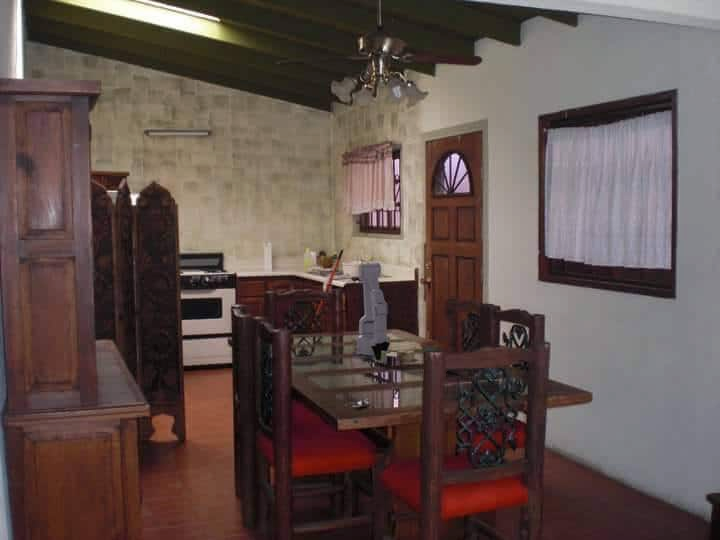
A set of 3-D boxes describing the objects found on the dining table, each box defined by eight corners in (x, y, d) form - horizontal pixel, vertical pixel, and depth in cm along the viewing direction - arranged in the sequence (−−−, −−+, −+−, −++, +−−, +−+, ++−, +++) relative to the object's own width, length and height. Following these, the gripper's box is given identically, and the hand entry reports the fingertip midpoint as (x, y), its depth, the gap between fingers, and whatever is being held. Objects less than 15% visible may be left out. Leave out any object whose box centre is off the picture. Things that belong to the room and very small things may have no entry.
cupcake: (436, 356, 369) (436, 331, 368) (418, 355, 371) (418, 330, 370) (438, 352, 378) (438, 328, 377) (421, 352, 379) (421, 327, 378)
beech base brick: (396, 360, 362) (396, 351, 361) (402, 358, 367) (402, 349, 367) (408, 361, 359) (408, 352, 359) (414, 359, 364) (414, 350, 364)
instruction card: (375, 355, 373) (375, 354, 373) (382, 351, 382) (382, 351, 382) (399, 356, 369) (399, 356, 369) (405, 353, 377) (405, 352, 377)
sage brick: (374, 362, 357) (374, 351, 356) (379, 360, 360) (378, 350, 360) (382, 363, 355) (382, 352, 354) (386, 361, 358) (386, 350, 357)
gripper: (379, 332, 348) (380, 362, 349) (395, 327, 360) (395, 357, 361) (366, 331, 351) (366, 361, 353) (382, 326, 364) (382, 355, 365)
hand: (380, 359), depth 357 cm, fingers closed on sage brick, 4 cm apart
